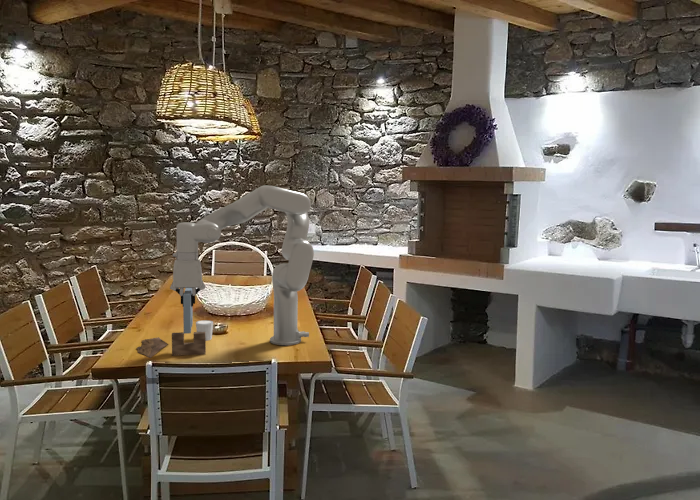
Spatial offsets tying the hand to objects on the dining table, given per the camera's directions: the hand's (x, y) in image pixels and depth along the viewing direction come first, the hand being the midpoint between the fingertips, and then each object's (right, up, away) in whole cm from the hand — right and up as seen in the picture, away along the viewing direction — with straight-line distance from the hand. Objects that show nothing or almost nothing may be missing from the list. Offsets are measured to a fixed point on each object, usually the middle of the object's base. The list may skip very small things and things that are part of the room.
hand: (188, 305), depth 226 cm
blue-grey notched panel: (0, -9, +1) cm, 9 cm away
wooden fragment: (-16, -18, +10) cm, 26 cm away
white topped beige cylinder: (+1, -16, +23) cm, 28 cm away
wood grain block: (0, -18, +2) cm, 18 cm away
